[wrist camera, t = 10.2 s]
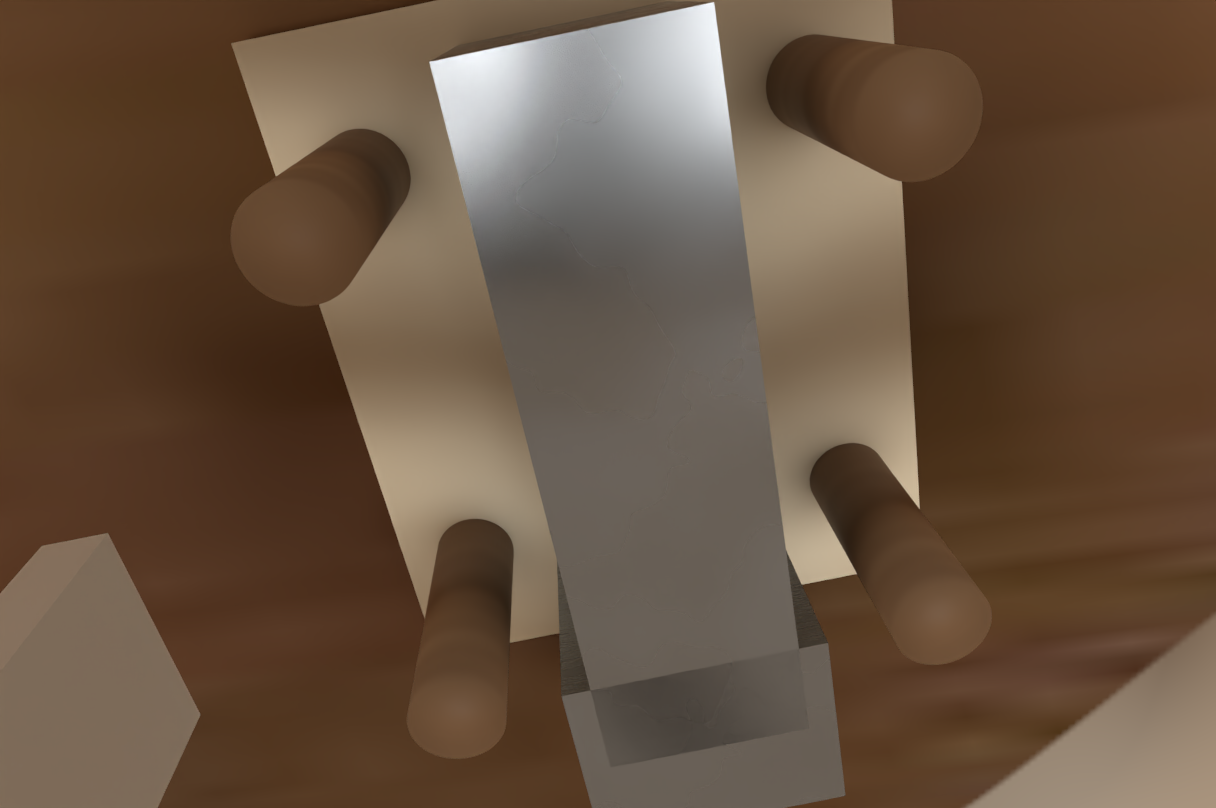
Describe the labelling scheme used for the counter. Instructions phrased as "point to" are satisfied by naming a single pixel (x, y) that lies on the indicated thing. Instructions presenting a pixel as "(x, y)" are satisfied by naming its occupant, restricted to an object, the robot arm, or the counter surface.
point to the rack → (471, 347)
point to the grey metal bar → (644, 406)
